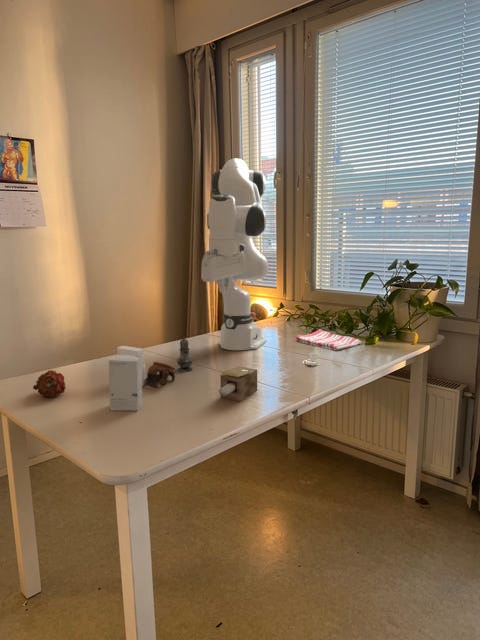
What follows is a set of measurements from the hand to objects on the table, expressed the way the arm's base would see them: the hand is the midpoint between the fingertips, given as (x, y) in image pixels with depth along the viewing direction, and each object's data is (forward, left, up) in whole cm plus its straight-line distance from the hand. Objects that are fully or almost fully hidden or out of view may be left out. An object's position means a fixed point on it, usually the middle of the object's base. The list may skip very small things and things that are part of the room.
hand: (224, 291), depth 151 cm
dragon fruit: (+39, -39, -30) cm, 62 cm away
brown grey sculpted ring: (+14, -16, -30) cm, 37 cm away
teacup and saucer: (-31, +15, -31) cm, 46 cm away
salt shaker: (-2, -19, -30) cm, 36 cm away
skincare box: (+34, -12, -30) cm, 47 cm away
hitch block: (+9, +11, -30) cm, 33 cm away
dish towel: (-64, +12, -31) cm, 71 cm away
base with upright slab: (+18, -25, -30) cm, 43 cm away
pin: (+10, +11, -28) cm, 32 cm away
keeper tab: (+12, +11, -22) cm, 28 cm away
